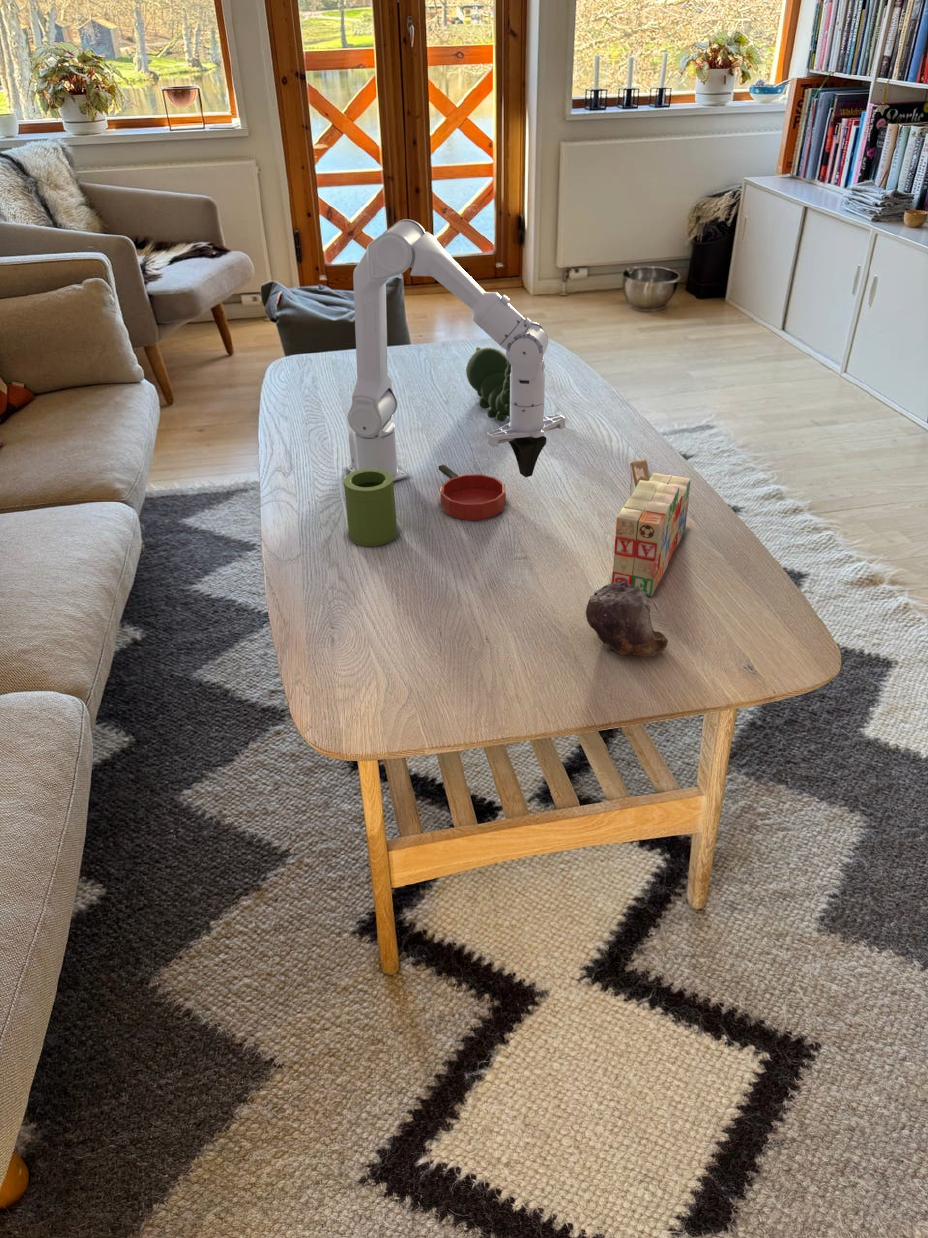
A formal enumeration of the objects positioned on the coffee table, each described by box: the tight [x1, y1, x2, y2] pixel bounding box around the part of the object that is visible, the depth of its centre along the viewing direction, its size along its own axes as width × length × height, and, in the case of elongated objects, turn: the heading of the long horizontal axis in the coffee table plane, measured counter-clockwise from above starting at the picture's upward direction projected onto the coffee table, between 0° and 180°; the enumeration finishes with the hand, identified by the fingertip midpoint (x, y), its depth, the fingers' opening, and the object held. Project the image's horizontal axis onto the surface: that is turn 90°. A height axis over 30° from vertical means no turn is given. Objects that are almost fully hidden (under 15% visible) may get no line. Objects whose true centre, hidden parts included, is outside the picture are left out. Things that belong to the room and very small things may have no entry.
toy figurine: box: [465, 346, 511, 422], centre depth 191 cm, size 9×19×25 cm
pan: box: [437, 464, 507, 521], centre depth 163 cm, size 17×11×3 cm, turn 30°
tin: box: [629, 459, 651, 496], centre depth 155 cm, size 15×3×8 cm, turn 177°
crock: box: [343, 468, 398, 547], centre depth 152 cm, size 8×8×10 cm
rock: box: [585, 581, 669, 657], centre depth 126 cm, size 12×9×10 cm
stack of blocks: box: [611, 472, 692, 597], centre depth 143 cm, size 21×6×12 cm, turn 156°
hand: (526, 474), depth 165 cm, fingers closed
